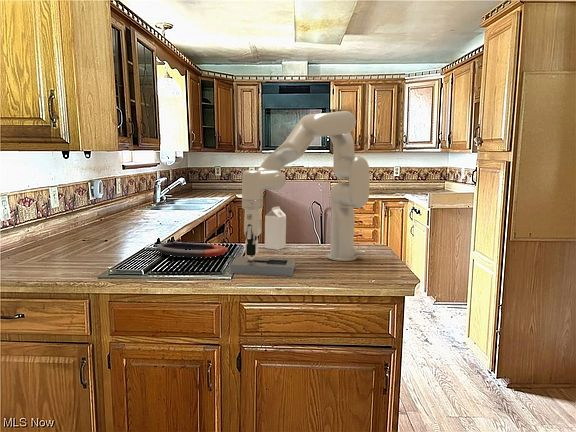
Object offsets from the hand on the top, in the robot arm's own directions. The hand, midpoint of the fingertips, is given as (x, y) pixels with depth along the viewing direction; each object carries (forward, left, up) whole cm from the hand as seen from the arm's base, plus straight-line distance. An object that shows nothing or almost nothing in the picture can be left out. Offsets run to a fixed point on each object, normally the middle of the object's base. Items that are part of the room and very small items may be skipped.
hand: (252, 253), depth 159 cm
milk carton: (-3, -39, -6) cm, 40 cm away
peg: (0, 0, -6) cm, 6 cm away
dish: (+29, -17, -7) cm, 34 cm away
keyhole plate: (-4, 0, -6) cm, 8 cm away
